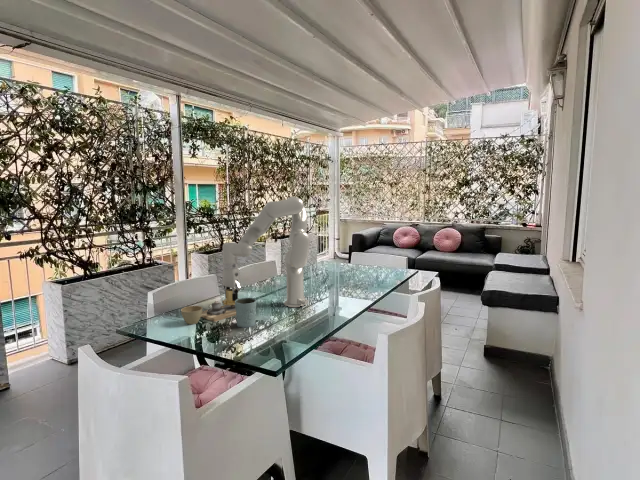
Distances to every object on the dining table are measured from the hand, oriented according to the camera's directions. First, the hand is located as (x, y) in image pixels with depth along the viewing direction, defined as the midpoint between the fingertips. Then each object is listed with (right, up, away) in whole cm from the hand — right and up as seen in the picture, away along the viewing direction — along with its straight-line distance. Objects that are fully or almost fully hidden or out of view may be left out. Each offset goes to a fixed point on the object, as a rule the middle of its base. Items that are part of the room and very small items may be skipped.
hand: (231, 299), depth 204 cm
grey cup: (+12, -9, -21) cm, 26 cm away
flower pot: (-15, -9, -17) cm, 25 cm away
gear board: (-2, -7, -2) cm, 7 cm away
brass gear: (0, -2, 0) cm, 2 cm away
